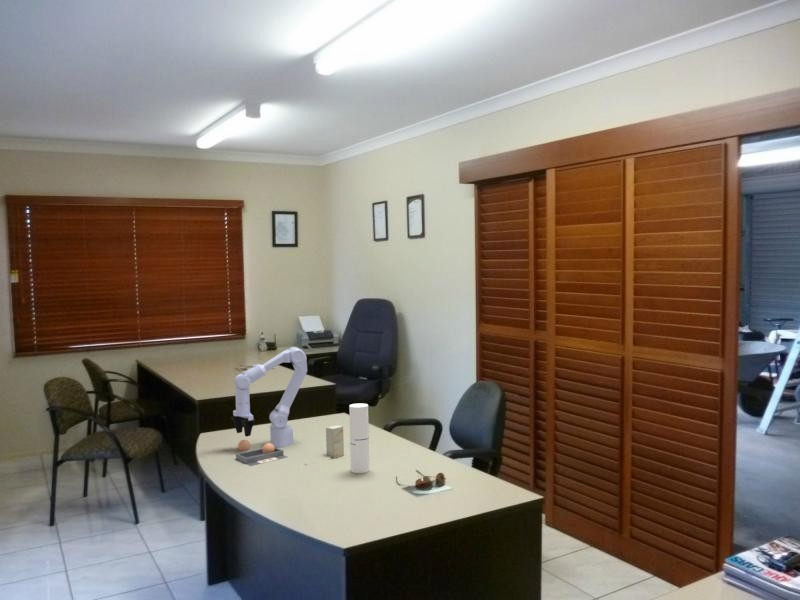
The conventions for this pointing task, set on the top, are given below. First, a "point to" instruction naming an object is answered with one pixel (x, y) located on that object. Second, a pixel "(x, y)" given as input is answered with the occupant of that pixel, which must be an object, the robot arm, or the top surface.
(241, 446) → the terracotta ball
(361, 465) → the cylindrical container
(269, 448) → the resting terracotta ball
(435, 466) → the top surface
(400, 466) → the top surface
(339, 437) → the skincare box
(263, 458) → the grey rimmed tray
